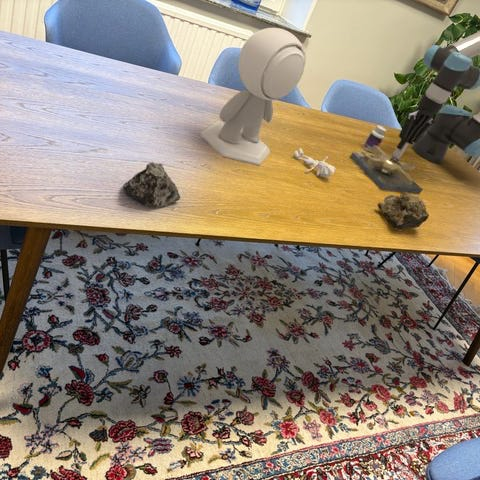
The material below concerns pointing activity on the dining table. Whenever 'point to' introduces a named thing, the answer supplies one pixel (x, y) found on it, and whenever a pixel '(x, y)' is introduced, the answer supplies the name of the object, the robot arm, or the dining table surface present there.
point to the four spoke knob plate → (391, 165)
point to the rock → (152, 187)
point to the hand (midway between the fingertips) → (395, 156)
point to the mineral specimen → (404, 211)
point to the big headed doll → (257, 94)
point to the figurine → (316, 164)
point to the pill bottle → (374, 138)
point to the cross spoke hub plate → (383, 176)
